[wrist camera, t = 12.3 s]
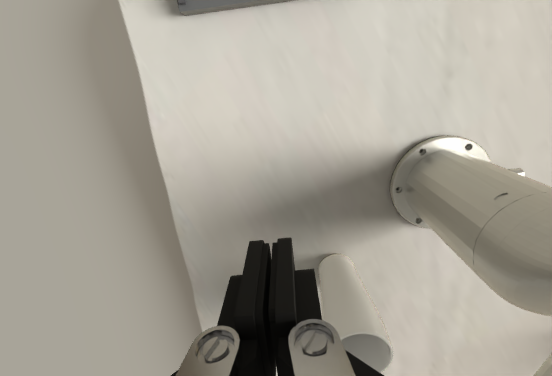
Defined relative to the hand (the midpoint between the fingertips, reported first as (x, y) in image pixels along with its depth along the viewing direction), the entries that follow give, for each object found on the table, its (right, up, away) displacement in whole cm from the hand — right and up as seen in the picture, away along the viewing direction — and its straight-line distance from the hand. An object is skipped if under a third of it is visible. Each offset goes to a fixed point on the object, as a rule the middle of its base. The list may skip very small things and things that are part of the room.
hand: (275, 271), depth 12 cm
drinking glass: (+9, -9, +32) cm, 34 cm away
